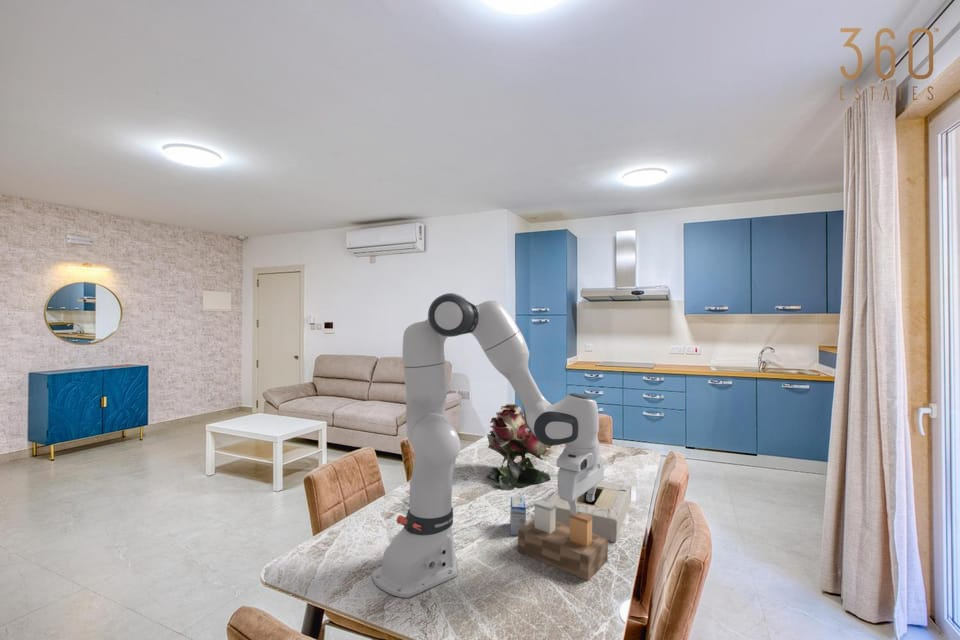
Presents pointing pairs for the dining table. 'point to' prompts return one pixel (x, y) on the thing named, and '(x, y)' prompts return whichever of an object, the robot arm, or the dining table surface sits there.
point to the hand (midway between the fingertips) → (582, 506)
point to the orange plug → (581, 528)
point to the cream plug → (545, 516)
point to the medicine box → (517, 514)
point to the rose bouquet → (515, 449)
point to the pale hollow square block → (599, 508)
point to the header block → (563, 550)
